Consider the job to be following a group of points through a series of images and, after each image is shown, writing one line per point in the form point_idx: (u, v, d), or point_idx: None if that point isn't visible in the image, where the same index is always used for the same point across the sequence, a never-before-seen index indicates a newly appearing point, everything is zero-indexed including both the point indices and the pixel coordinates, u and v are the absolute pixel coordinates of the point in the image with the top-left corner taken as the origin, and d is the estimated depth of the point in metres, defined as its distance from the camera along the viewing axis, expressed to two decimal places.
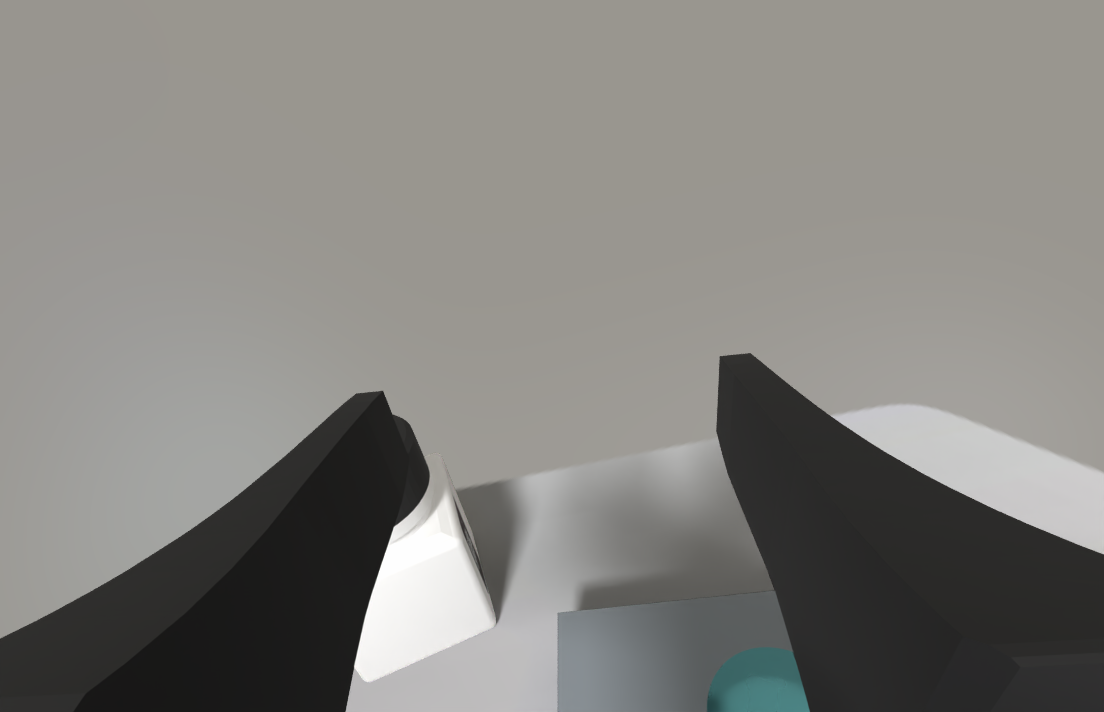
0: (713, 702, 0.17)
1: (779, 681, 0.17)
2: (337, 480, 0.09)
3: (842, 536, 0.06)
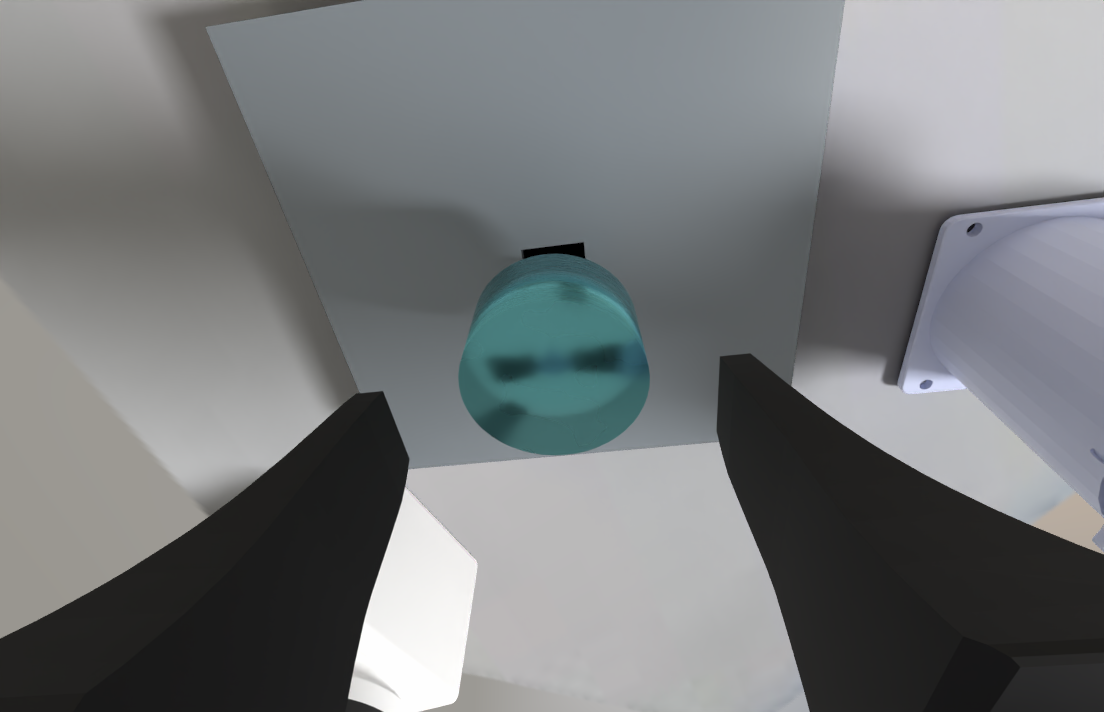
0: (538, 448, 0.13)
1: (505, 381, 0.12)
2: (337, 480, 0.09)
3: (842, 536, 0.06)
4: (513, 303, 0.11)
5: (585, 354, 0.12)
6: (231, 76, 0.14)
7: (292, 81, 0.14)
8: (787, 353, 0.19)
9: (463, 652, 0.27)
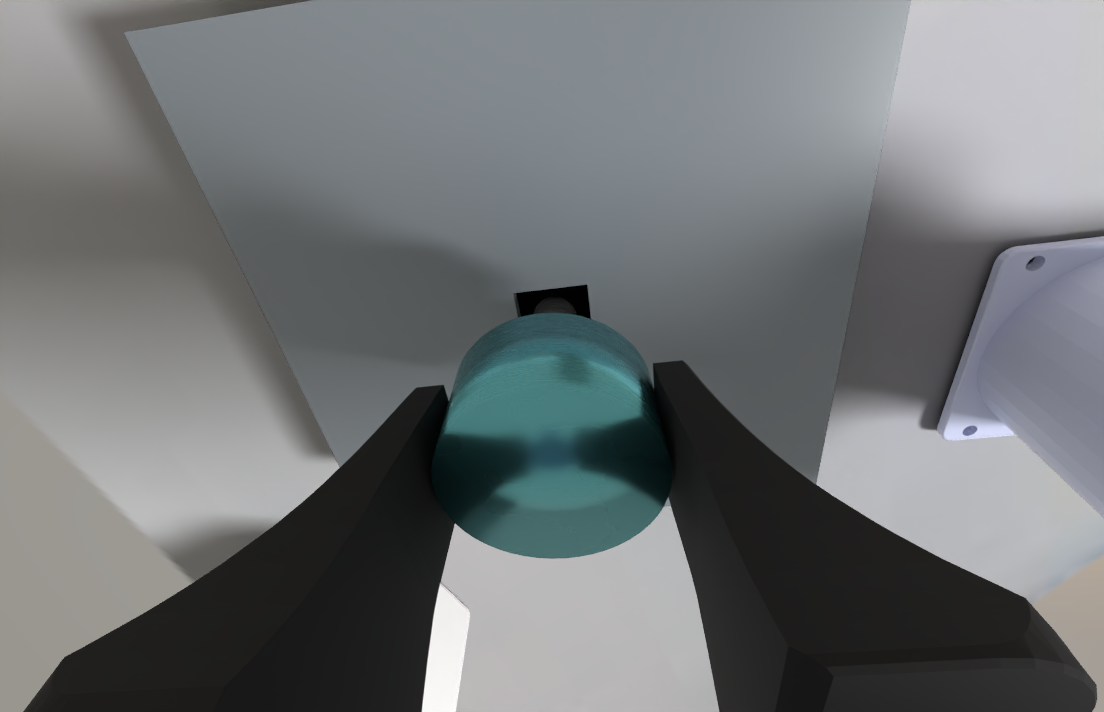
0: (533, 551, 0.11)
1: (491, 478, 0.10)
2: (410, 474, 0.09)
3: (726, 543, 0.06)
4: (499, 387, 0.09)
5: (591, 449, 0.09)
6: (160, 92, 0.12)
7: (234, 98, 0.12)
8: (821, 407, 0.16)
9: None
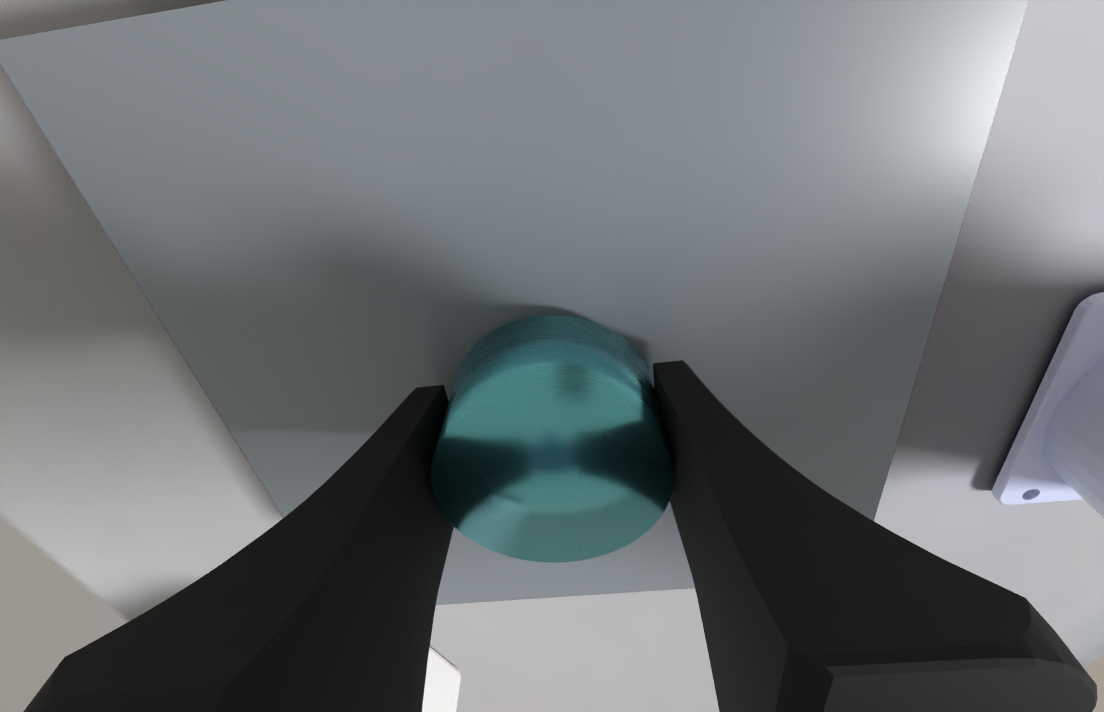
0: (533, 555, 0.11)
1: (491, 482, 0.10)
2: (410, 474, 0.09)
3: (726, 544, 0.06)
4: (498, 391, 0.09)
5: (591, 453, 0.09)
6: (42, 118, 0.09)
7: (139, 126, 0.09)
8: (872, 485, 0.14)
9: None
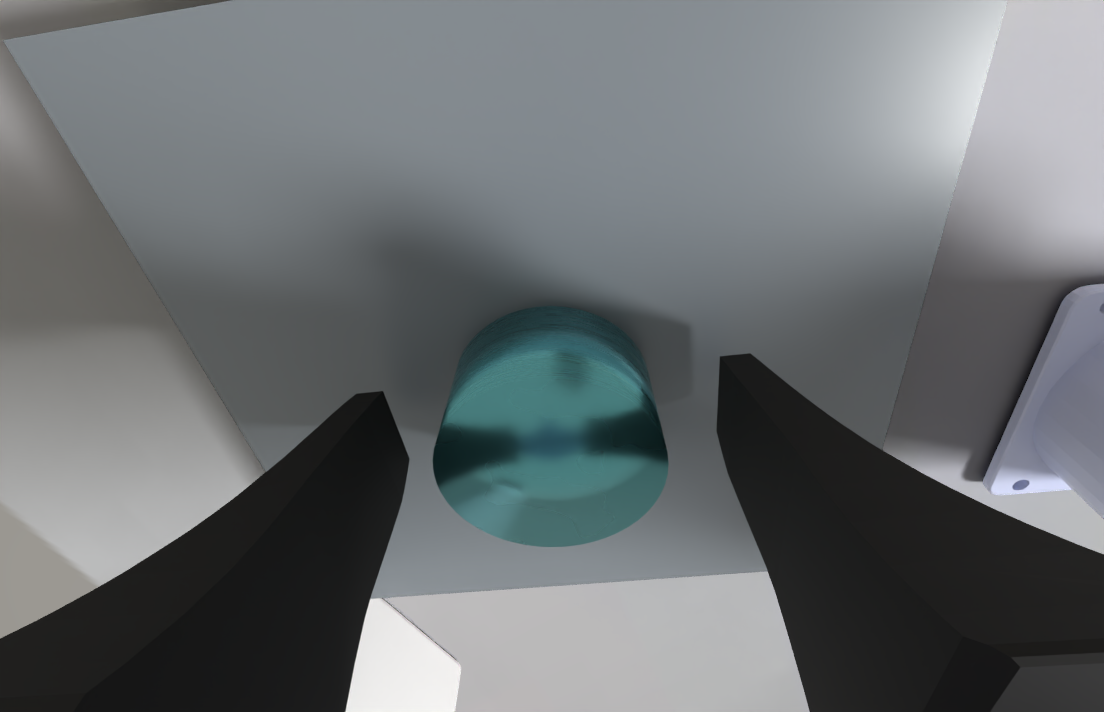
0: (532, 540, 0.11)
1: (491, 467, 0.10)
2: (337, 480, 0.09)
3: (842, 535, 0.06)
4: (499, 378, 0.09)
5: (589, 437, 0.09)
6: (56, 114, 0.09)
7: (150, 122, 0.09)
8: None
9: None
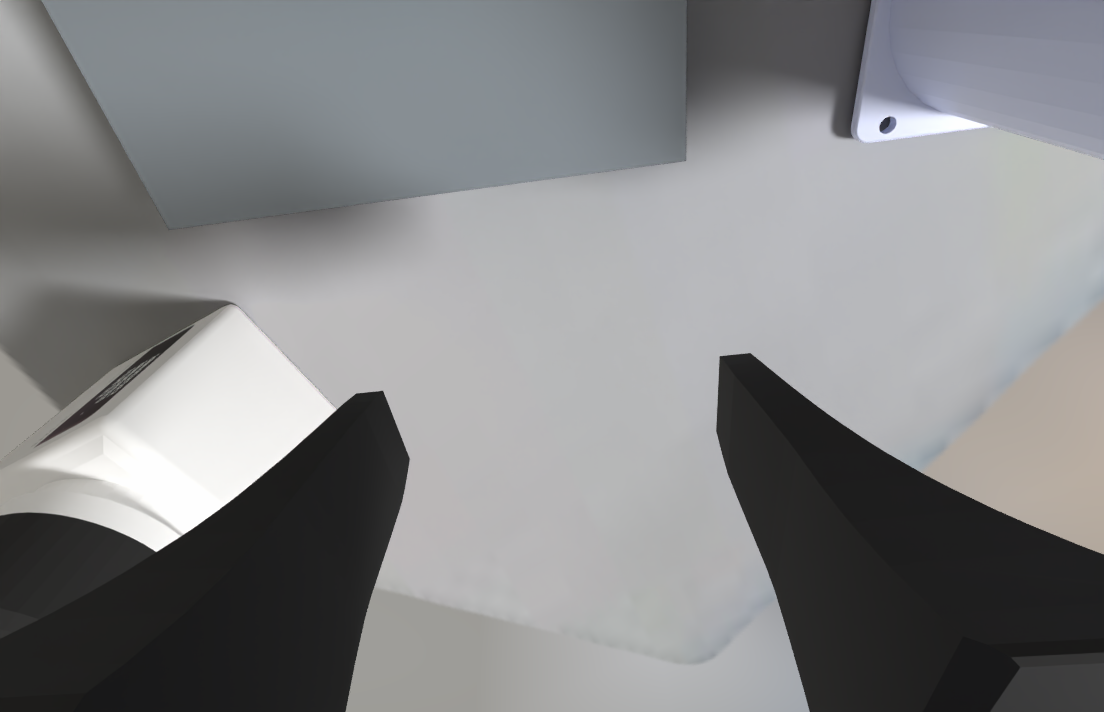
0: None
1: None
2: (337, 480, 0.09)
3: (842, 536, 0.06)
4: None
5: None
6: None
7: None
8: None
9: None
